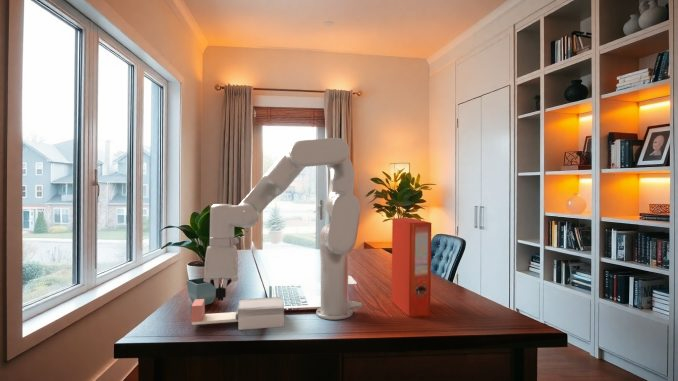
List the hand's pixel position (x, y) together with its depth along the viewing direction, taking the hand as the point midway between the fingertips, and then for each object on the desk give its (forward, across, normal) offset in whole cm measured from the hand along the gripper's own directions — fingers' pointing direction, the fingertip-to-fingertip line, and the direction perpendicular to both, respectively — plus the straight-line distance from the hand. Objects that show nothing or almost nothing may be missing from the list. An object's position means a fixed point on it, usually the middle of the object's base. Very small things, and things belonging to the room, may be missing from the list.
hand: (220, 299), depth 126 cm
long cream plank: (+6, -5, 0) cm, 8 cm away
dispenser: (+8, -13, 0) cm, 15 cm away
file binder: (+6, -66, -2) cm, 66 cm away
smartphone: (+7, -53, -47) cm, 71 cm away
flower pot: (+8, +8, -24) cm, 27 cm away
